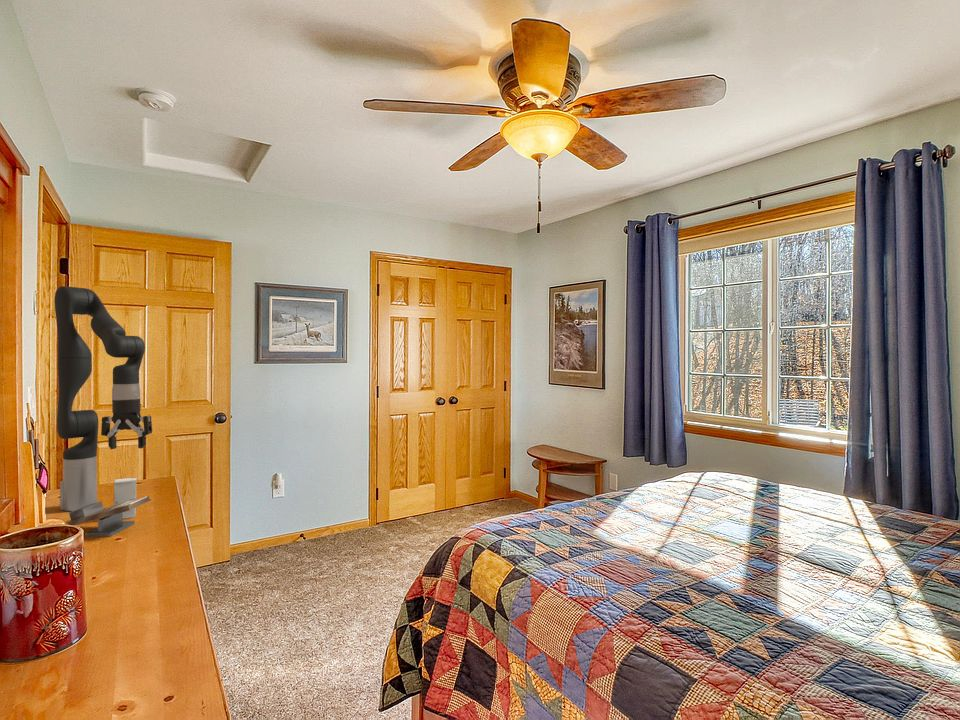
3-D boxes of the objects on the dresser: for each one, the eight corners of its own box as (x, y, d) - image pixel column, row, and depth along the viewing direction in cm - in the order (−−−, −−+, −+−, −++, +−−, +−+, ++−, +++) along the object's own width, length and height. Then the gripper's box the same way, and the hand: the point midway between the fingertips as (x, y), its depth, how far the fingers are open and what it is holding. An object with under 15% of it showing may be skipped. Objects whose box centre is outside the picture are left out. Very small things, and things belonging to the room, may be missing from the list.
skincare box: (113, 520, 165) (113, 482, 165) (113, 516, 169) (113, 479, 169) (136, 517, 169) (136, 479, 169) (136, 513, 172) (136, 476, 172)
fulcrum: (85, 536, 150) (85, 521, 150) (111, 524, 161) (111, 509, 161) (110, 536, 151) (110, 520, 151) (134, 524, 162) (134, 509, 162)
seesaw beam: (68, 527, 151) (64, 514, 151) (92, 516, 161) (89, 504, 161) (129, 510, 151) (125, 497, 151) (150, 500, 161) (146, 488, 161)
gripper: (156, 396, 172) (156, 445, 172) (110, 397, 171) (111, 447, 171) (143, 398, 164) (144, 450, 164) (95, 399, 163) (96, 451, 163)
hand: (127, 448), depth 168 cm, fingers open, 8 cm apart
